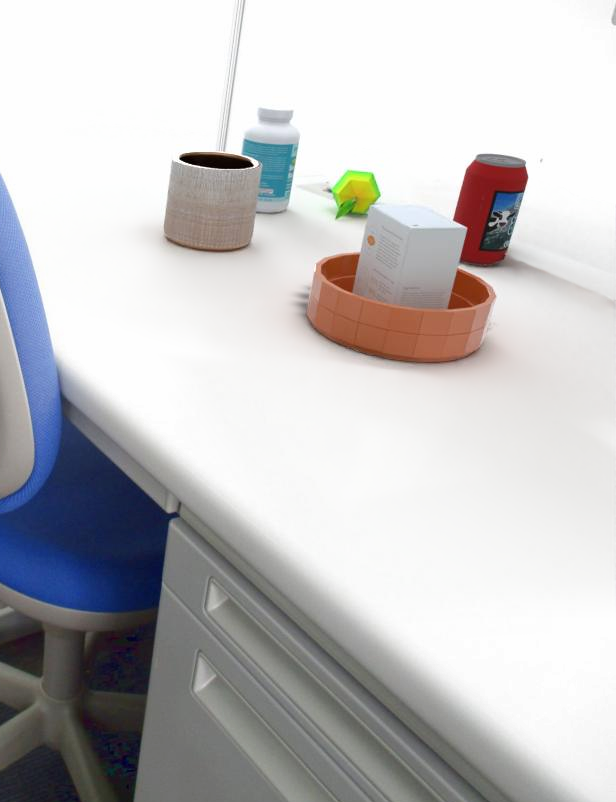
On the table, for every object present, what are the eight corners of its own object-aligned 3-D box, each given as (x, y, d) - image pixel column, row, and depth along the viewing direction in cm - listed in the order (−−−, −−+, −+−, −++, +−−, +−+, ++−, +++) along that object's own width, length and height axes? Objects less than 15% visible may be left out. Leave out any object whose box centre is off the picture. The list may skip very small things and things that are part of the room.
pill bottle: (294, 215, 119) (311, 112, 113) (241, 213, 118) (256, 110, 112) (279, 201, 126) (294, 103, 119) (228, 199, 125) (242, 101, 119)
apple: (359, 154, 121) (362, 166, 113) (389, 188, 122) (393, 202, 114) (318, 189, 125) (318, 203, 117) (347, 221, 126) (349, 238, 118)
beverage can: (497, 272, 101) (528, 168, 96) (438, 259, 104) (464, 158, 99) (507, 258, 106) (537, 158, 101) (450, 246, 110) (476, 149, 104)
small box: (440, 338, 81) (470, 227, 76) (384, 340, 80) (411, 227, 75) (399, 306, 88) (424, 203, 83) (347, 307, 87) (369, 202, 82)
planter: (155, 225, 111) (163, 148, 107) (238, 227, 113) (249, 151, 108) (172, 251, 102) (181, 169, 97) (262, 253, 103) (275, 172, 99)
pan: (403, 292, 93) (414, 247, 91) (519, 353, 80) (536, 302, 78) (274, 305, 88) (282, 257, 86) (375, 373, 75) (388, 319, 72)
